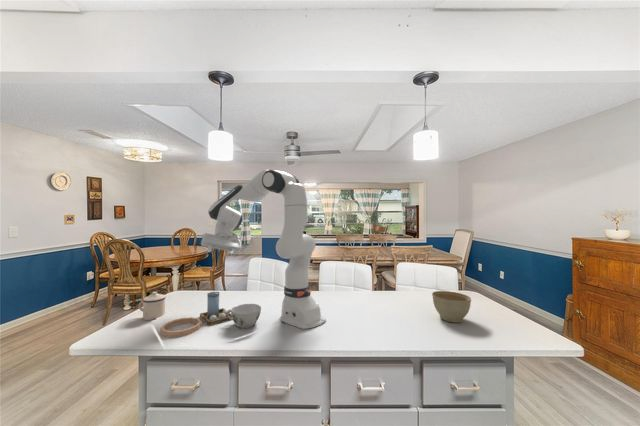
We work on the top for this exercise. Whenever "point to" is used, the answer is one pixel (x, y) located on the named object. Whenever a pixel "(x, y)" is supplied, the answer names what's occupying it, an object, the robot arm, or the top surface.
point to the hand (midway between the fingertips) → (220, 253)
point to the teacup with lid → (153, 306)
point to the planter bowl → (451, 305)
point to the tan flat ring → (180, 332)
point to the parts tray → (204, 317)
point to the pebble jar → (213, 304)
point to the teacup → (245, 315)
